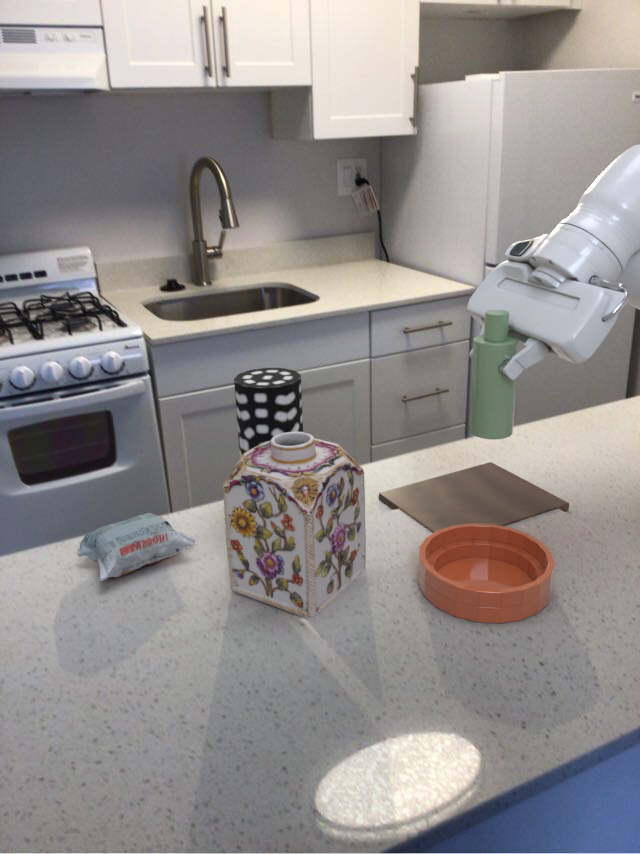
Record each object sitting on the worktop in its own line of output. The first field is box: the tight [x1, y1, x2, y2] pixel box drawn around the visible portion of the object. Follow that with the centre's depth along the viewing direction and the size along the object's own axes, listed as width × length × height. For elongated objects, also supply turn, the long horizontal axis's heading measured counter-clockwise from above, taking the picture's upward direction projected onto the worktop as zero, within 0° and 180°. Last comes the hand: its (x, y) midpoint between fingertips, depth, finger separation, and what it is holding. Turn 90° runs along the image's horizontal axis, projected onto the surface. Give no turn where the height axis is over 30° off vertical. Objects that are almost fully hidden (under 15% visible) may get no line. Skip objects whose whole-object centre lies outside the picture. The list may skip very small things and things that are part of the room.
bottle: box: [469, 310, 519, 440], centre depth 85 cm, size 5×5×14 cm
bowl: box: [418, 523, 556, 624], centre depth 84 cm, size 14×14×4 cm
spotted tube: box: [233, 367, 304, 459], centre depth 97 cm, size 8×8×20 cm
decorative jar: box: [222, 431, 367, 619], centre depth 84 cm, size 12×12×18 cm
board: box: [378, 461, 570, 534], centre depth 103 cm, size 20×16×1 cm
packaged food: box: [76, 512, 196, 582], centre depth 91 cm, size 9×12×5 cm
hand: (489, 367), depth 84 cm, fingers closed on bottle, 5 cm apart
